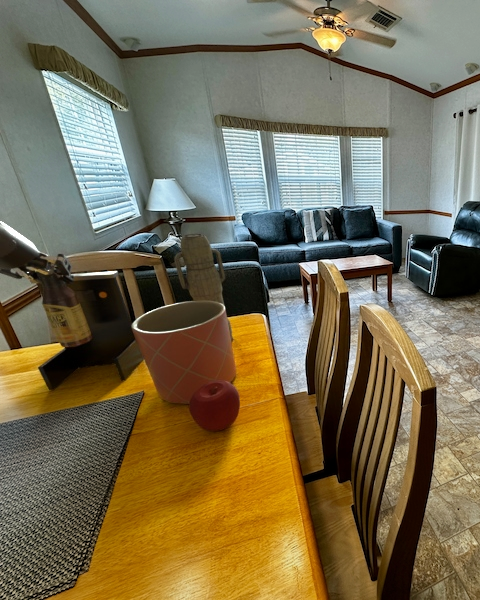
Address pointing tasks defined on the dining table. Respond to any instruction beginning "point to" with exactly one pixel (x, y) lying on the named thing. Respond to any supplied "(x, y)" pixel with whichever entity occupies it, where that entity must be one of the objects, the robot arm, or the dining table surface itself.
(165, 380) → the planter
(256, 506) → the dining table surface
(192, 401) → the apple
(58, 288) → the sauce bottle
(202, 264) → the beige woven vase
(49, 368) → the dispenser
